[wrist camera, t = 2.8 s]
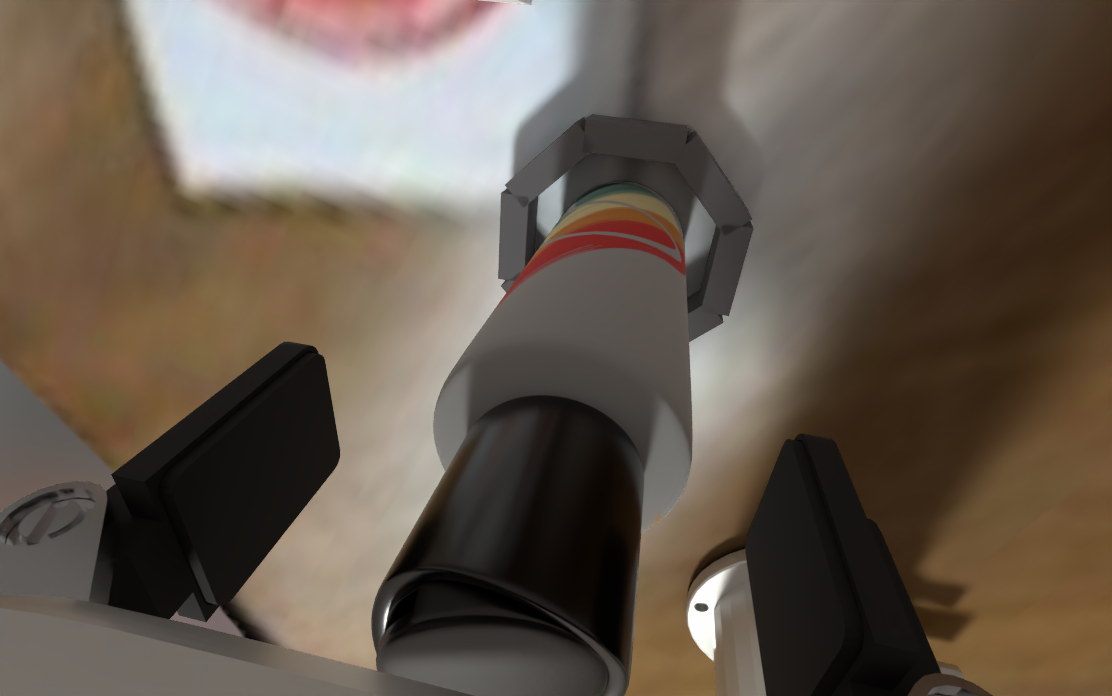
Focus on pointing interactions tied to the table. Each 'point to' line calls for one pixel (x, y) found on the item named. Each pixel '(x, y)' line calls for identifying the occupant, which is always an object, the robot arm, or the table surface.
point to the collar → (648, 145)
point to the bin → (512, 1)
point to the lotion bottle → (552, 465)
